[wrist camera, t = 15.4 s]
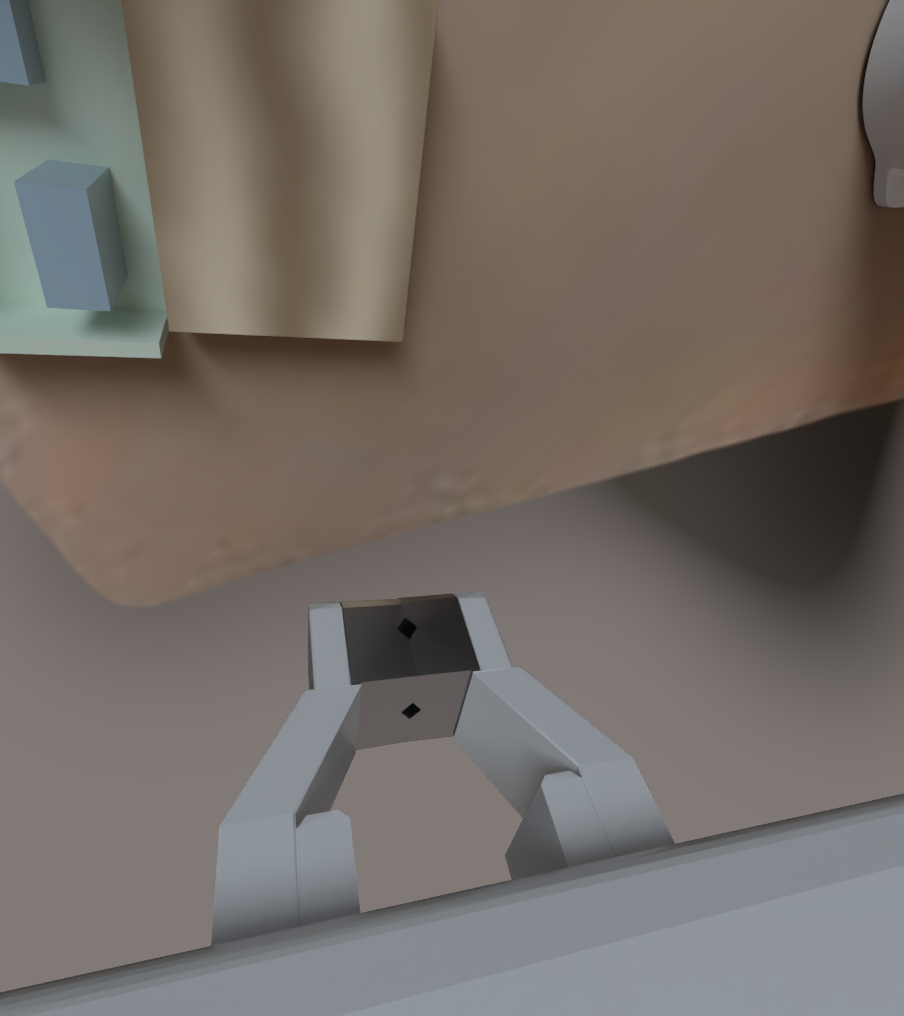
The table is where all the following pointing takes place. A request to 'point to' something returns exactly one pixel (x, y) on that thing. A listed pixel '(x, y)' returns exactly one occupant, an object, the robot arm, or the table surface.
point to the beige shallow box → (283, 159)
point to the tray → (84, 140)
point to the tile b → (74, 234)
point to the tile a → (19, 45)
